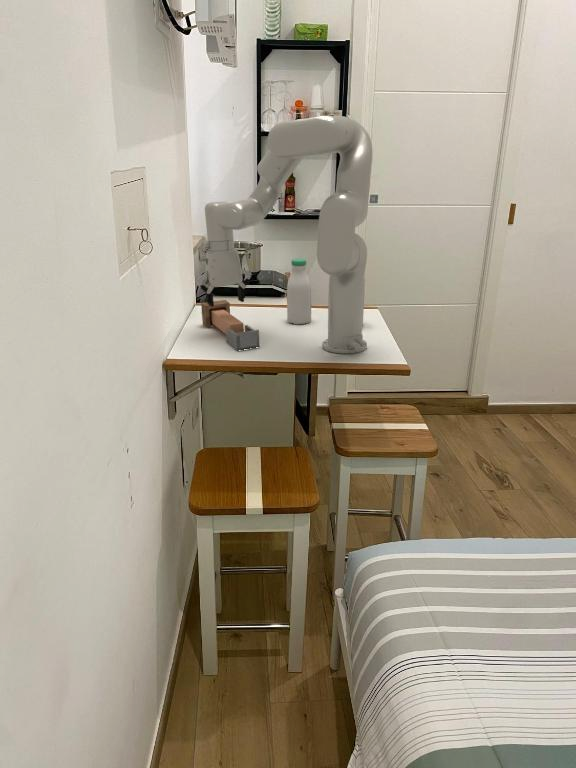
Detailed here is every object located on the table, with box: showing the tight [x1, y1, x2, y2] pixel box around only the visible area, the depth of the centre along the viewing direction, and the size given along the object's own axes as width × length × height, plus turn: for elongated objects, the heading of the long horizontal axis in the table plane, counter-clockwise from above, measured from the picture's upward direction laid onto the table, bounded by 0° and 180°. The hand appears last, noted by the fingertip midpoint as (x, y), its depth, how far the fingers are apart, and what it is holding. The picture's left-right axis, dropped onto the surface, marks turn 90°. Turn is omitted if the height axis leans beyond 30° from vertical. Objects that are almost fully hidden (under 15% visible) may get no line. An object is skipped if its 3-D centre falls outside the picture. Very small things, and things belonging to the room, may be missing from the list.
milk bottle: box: [286, 258, 312, 325], centre depth 193 cm, size 8×8×20 cm
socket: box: [200, 299, 231, 329], centre depth 193 cm, size 4×8×7 cm, turn 115°
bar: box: [209, 308, 245, 335], centre depth 185 cm, size 20×4×4 cm, turn 25°
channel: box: [225, 324, 260, 352], centre depth 174 cm, size 9×7×5 cm
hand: (226, 303), depth 184 cm, fingers open, 9 cm apart
